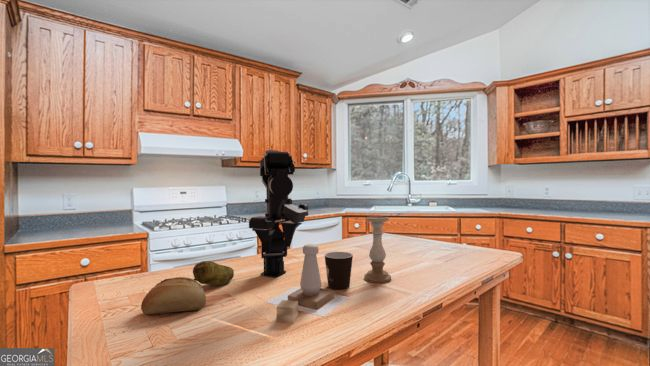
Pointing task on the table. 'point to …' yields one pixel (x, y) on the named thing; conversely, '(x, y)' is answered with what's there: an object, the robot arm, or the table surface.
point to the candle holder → (377, 252)
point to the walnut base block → (312, 298)
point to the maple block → (287, 311)
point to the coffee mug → (338, 269)
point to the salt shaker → (310, 271)
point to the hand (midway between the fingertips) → (278, 249)
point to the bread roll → (174, 296)
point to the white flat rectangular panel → (321, 311)
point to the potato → (212, 273)
